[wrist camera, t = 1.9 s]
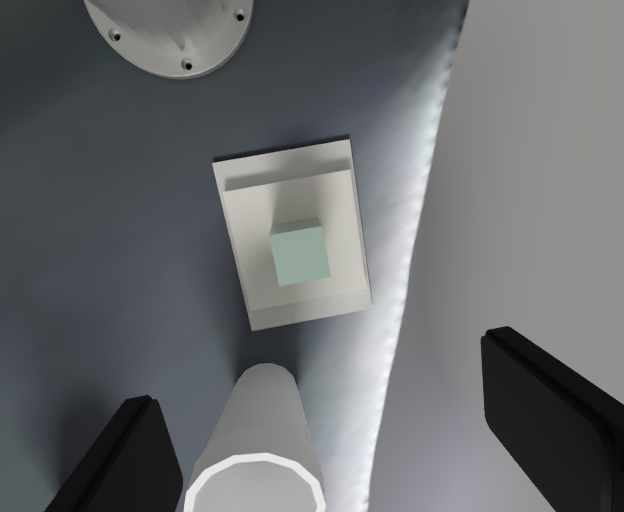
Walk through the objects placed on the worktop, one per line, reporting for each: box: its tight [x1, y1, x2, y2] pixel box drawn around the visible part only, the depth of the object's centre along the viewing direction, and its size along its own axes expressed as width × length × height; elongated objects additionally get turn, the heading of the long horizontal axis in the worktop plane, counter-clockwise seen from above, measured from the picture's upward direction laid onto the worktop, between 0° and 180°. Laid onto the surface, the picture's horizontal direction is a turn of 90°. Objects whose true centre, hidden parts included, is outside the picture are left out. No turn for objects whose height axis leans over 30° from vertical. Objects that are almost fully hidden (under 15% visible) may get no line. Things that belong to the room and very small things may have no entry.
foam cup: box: [184, 363, 326, 512], centre depth 29 cm, size 10×9×13 cm
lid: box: [223, 169, 367, 311], centre depth 28 cm, size 11×11×6 cm
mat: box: [212, 139, 372, 331], centre depth 32 cm, size 16×12×1 cm
